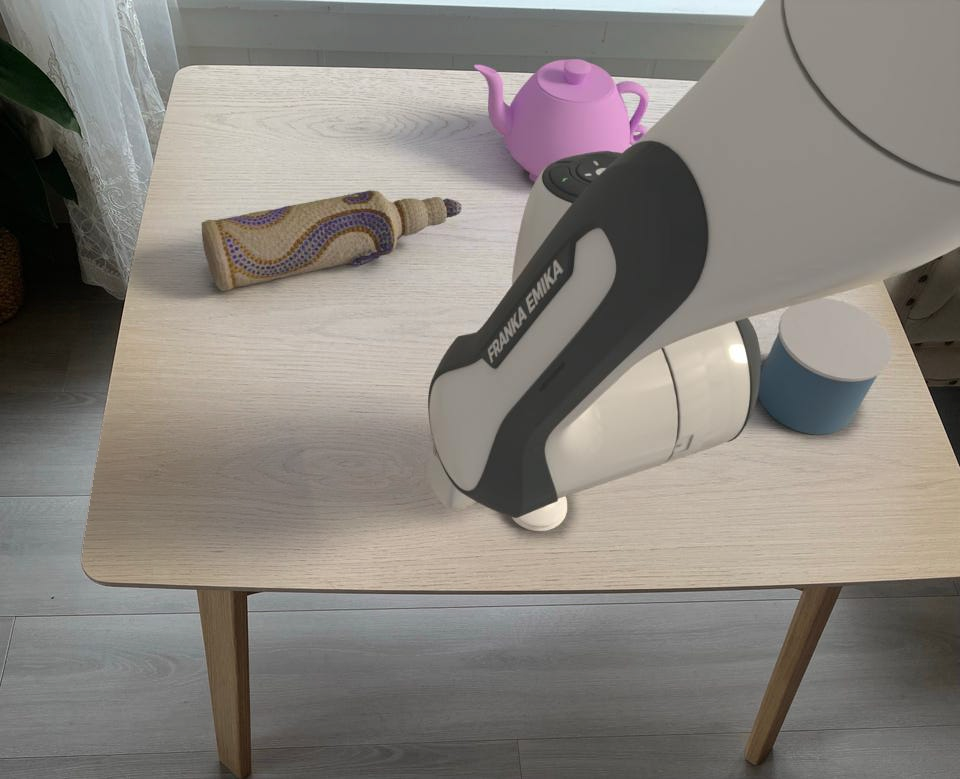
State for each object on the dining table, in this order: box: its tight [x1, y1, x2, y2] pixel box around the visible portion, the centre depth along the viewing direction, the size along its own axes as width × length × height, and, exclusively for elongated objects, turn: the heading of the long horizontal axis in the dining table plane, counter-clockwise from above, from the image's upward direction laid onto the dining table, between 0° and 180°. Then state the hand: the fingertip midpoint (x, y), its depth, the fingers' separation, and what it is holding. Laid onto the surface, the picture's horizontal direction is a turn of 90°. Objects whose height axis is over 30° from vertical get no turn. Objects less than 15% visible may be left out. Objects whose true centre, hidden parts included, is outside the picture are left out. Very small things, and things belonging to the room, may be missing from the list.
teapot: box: [473, 58, 650, 183], centre depth 104 cm, size 20×14×12 cm
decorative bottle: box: [200, 189, 463, 292], centre depth 93 cm, size 26×8×7 cm, turn 112°
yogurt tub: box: [757, 297, 893, 436], centre depth 85 cm, size 10×10×8 cm
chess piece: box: [511, 496, 568, 532], centre depth 74 cm, size 5×5×10 cm
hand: (542, 480), depth 75 cm, fingers closed on chess piece
